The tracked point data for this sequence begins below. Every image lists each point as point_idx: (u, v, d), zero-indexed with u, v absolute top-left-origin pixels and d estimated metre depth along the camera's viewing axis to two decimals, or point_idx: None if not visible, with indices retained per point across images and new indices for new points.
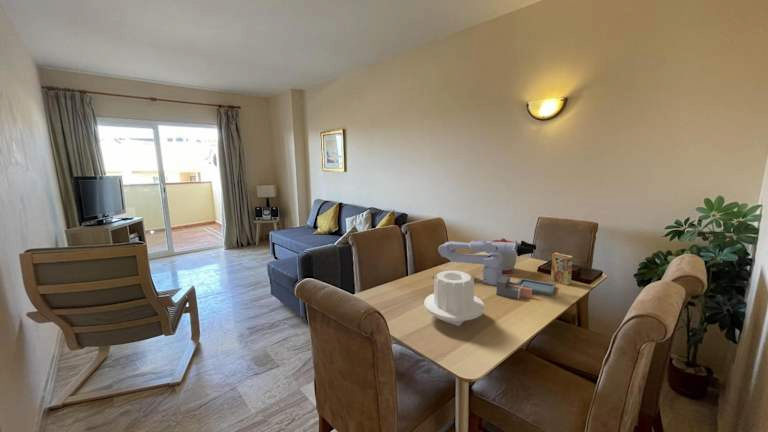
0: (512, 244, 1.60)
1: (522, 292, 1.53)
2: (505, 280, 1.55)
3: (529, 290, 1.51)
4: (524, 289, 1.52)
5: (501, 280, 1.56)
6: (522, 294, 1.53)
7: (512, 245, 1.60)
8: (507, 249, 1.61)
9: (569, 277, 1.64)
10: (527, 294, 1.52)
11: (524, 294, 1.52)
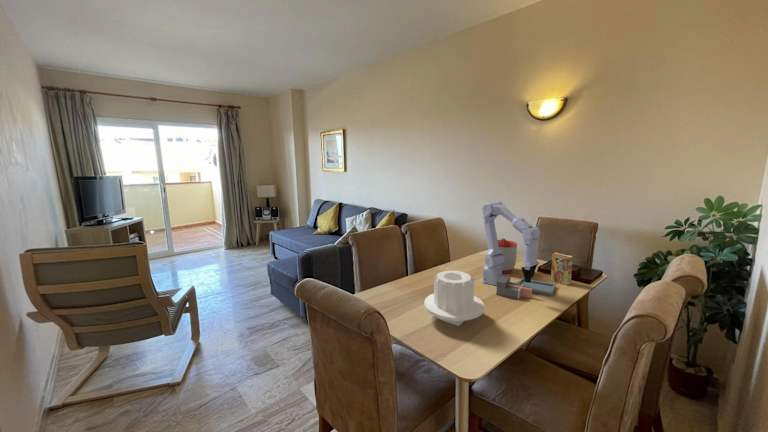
0: (535, 261, 1.46)
1: (522, 292, 1.53)
2: (505, 280, 1.55)
3: (529, 290, 1.51)
4: (524, 289, 1.52)
5: (501, 280, 1.56)
6: (522, 294, 1.53)
7: (533, 261, 1.46)
8: (529, 256, 1.46)
9: (569, 277, 1.64)
10: (527, 294, 1.52)
11: (524, 294, 1.52)
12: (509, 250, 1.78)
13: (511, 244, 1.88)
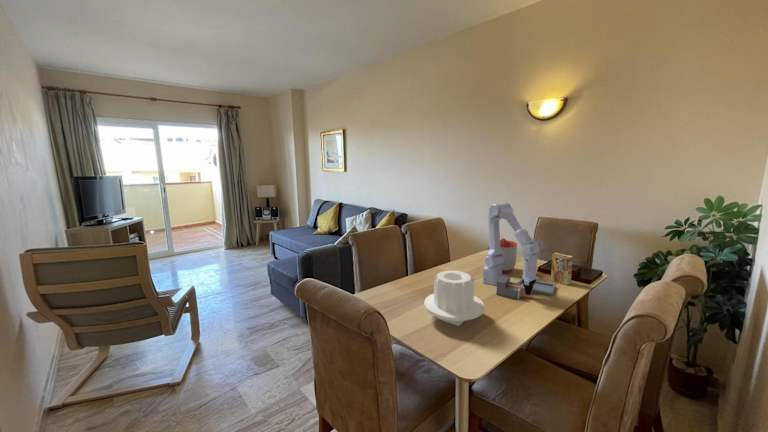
0: (534, 276, 1.47)
1: (522, 292, 1.53)
2: (505, 280, 1.55)
3: None
4: (524, 289, 1.52)
5: (501, 280, 1.56)
6: (522, 294, 1.53)
7: (533, 276, 1.47)
8: (528, 271, 1.47)
9: (569, 277, 1.64)
10: None
11: (524, 294, 1.52)
12: (509, 250, 1.78)
13: (511, 244, 1.88)
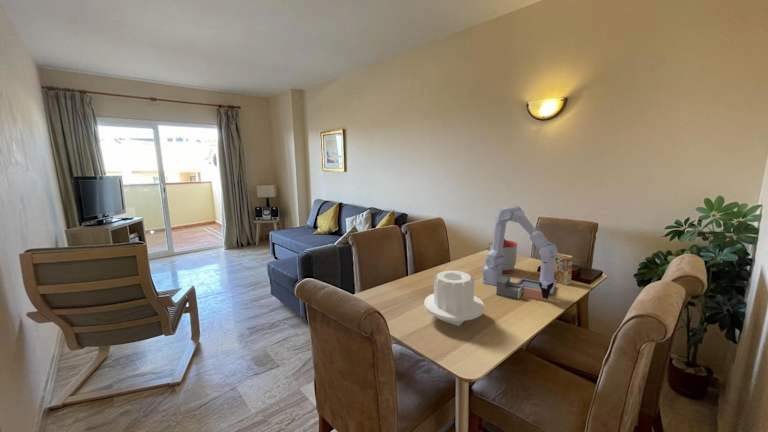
0: (551, 279, 1.43)
1: (539, 295, 1.49)
2: (505, 280, 1.55)
3: None
4: (541, 292, 1.48)
5: (501, 280, 1.56)
6: (539, 297, 1.49)
7: (550, 279, 1.43)
8: (545, 274, 1.43)
9: (569, 277, 1.64)
10: None
11: (541, 297, 1.48)
12: (509, 250, 1.78)
13: (511, 244, 1.88)
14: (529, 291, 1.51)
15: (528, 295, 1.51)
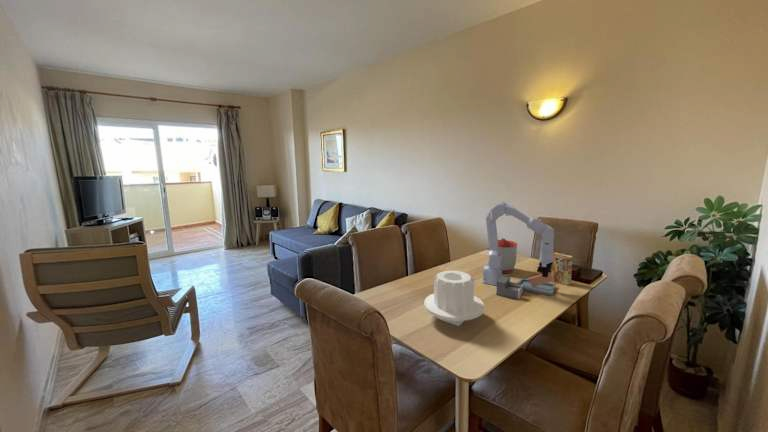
0: (550, 258, 1.54)
1: (543, 279, 1.59)
2: (505, 280, 1.55)
3: (548, 274, 1.57)
4: None
5: (501, 280, 1.56)
6: (544, 281, 1.58)
7: (549, 259, 1.54)
8: (545, 254, 1.54)
9: (569, 277, 1.64)
10: (548, 278, 1.57)
11: (546, 280, 1.58)
12: (509, 250, 1.78)
13: (511, 244, 1.88)
14: (534, 279, 1.61)
15: (535, 283, 1.61)
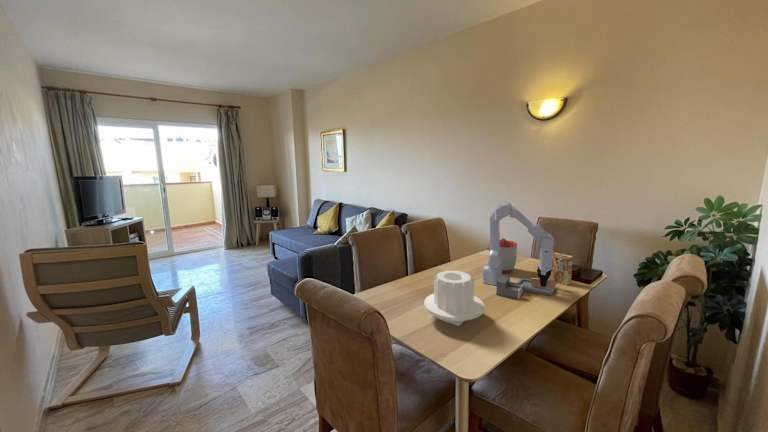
0: (550, 266, 1.55)
1: (546, 284, 1.58)
2: (505, 280, 1.55)
3: (552, 281, 1.56)
4: (547, 280, 1.58)
5: (501, 280, 1.56)
6: (546, 286, 1.58)
7: (549, 267, 1.55)
8: (544, 262, 1.55)
9: (569, 277, 1.64)
10: (551, 285, 1.57)
11: (548, 285, 1.58)
12: (509, 250, 1.78)
13: (511, 244, 1.88)
14: (536, 281, 1.60)
15: (536, 285, 1.61)
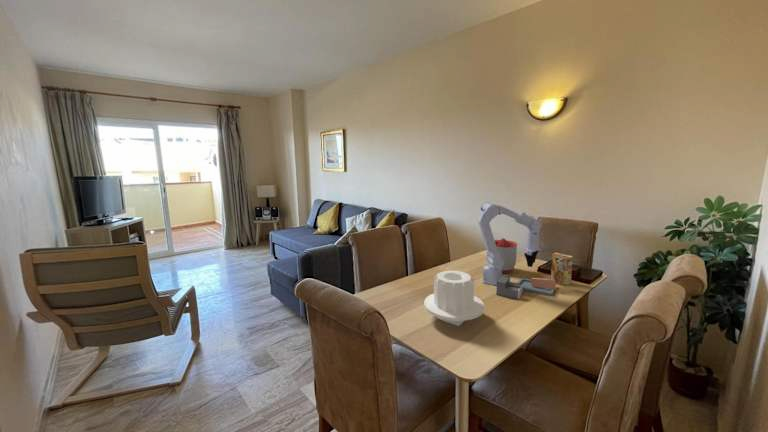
0: (536, 247, 1.65)
1: (546, 284, 1.58)
2: (505, 280, 1.55)
3: (552, 281, 1.56)
4: (547, 280, 1.58)
5: (501, 280, 1.56)
6: (546, 286, 1.58)
7: (535, 248, 1.65)
8: (531, 243, 1.65)
9: (569, 277, 1.64)
10: (551, 285, 1.57)
11: (548, 285, 1.58)
12: (509, 250, 1.78)
13: (511, 244, 1.88)
14: (536, 281, 1.60)
15: (536, 285, 1.61)
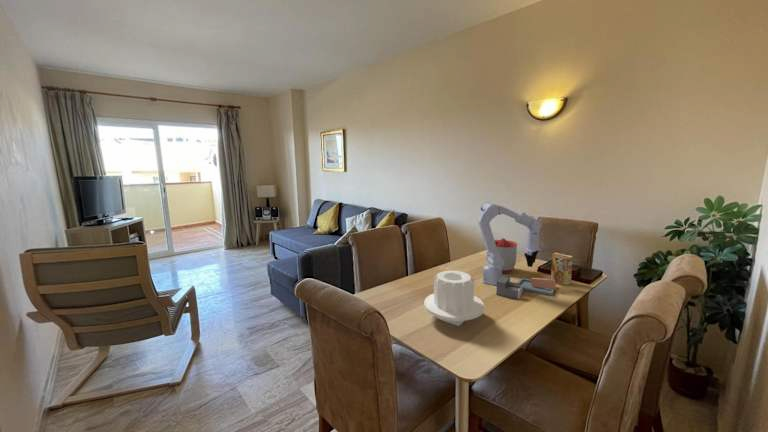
0: (536, 247, 1.65)
1: (546, 284, 1.58)
2: (505, 280, 1.55)
3: (552, 281, 1.56)
4: (547, 280, 1.58)
5: (501, 280, 1.56)
6: (546, 286, 1.58)
7: (535, 248, 1.65)
8: (531, 243, 1.65)
9: (569, 277, 1.64)
10: (551, 285, 1.57)
11: (548, 285, 1.58)
12: (509, 250, 1.78)
13: (511, 244, 1.88)
14: (536, 281, 1.60)
15: (536, 285, 1.61)
